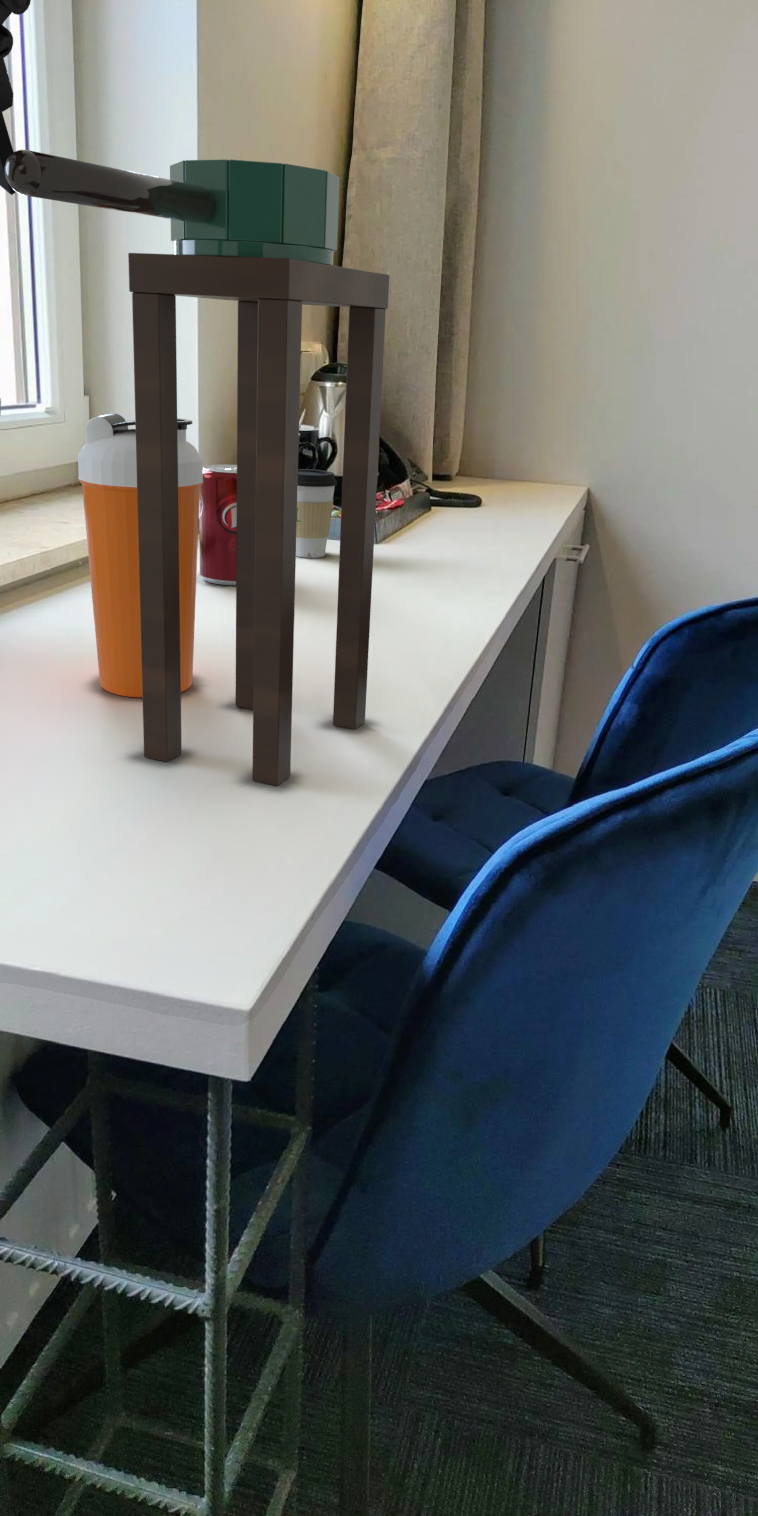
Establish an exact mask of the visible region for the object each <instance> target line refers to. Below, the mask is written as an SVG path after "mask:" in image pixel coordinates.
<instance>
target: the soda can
mask: <svg viewBox="0 0 758 1516" xmlns="http://www.w3.org/2000/svg"><path fill="white" fill-rule="evenodd" d="M236 531H237V464H224V463H223V464H207V465H203V484H202V485H201V486H200V496H199V522H198V544H199V545H198V547H199V575H200V576H201V577H202V579H203V580H204V581H205V582H207V583H211V584H214V585H221V586H232V587H233V586H235V587H236Z"/></svg>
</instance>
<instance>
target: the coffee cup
mask: <svg viewBox="0 0 758 1516" xmlns="http://www.w3.org/2000/svg"><path fill="white" fill-rule="evenodd" d="M335 477H336V476H335V473H334V472H332V471H329V470H323V469H322V470H321V469H309V468H308V469H306V468H305V469H303V468H298V487H297V527H296V558H297V557H298V558H305V559H315V558H316V559H317V558H322V557H325V555H326V551H327V550H326V549H327V541H328V537H329V533H330V527H331V522H332V521H331V520H332V513H333V508H334V507H333V506H334V501H335V500H334V493H335V486H337V485H338V481H337V480H336V478H335Z"/></svg>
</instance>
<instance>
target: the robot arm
mask: <svg viewBox="0 0 758 1516" xmlns="http://www.w3.org/2000/svg"><path fill="white" fill-rule="evenodd" d="M31 1H32V0H0V187H1V188H2V189H4V191H6V192H7V193H9V195H10V196H13V195H15V194H16V193H17V192H16V191H15V190H14V189H13V188H12V187H11V186H10V185H9V183H8V181H7V179H6V176H5V163H6V161H7V159H8V157H9V156H10V155H11V154H12V153H13V152H15V150H14V149H13V145H12V141H11V138H10V135H9V131H8V127H7V124H6V121H5V117H4V114H3V112H5V111H6V110H9V109H11V108H12V107H13V105H14V91H13V88H12V84H11V81H10V76H9V74H8V69H7V65H6V63H5V58H6V57H8V56H9V55H10V53H11V52H12V49H13V46H14V36H13V33H12V32H11V31H10V30H9V28H7V27H5V26H4V25H3V24H4V23H5V22H6V20H7V19H8V18H9V17H10V16H11V14H13V15H18V16H20V15H23V14H24V13H25V12H26V11H27V10H28V9H29V7H30V5H31ZM1 411H2V398H0V415H2V414H1Z"/></svg>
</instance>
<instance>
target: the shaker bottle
mask: <svg viewBox="0 0 758 1516" xmlns="http://www.w3.org/2000/svg"><path fill="white" fill-rule="evenodd" d="M190 425H193V420H191V419H187V418H178V417H177V437H178V514H179V591H180V668H181V693H183V692H185V691H186V690H188V689H190V688H191V686H192V684H193V673H194V648H195V647H194V645H195V620H196V596H197V572H198V571H197V570H198V547H199V545H198V544H199V496H200V486H201V485H202V484H203V467H204V464H203V463H204V462H203V461H204V460H203V458H202V455H200V453H199V452H198V450H197V448H196V447H195V446H194V445H193V444H192V443H190V442H189V441H187V429H188V426H190ZM129 426H135V419H131V420H126V418H124V417H123V416H122V415H121V414H119V413H116V412H115V413H114V412H110V413H107V414H103V415H97V416H93V417H92V418H90V419H89V420H88V421H87V422H86V424H85V426H84V439H85V440H84V441H85V443H84V445H83V446H82V448H81V450H80V451H79V452H78V453H77V468H78V470H77V471H78V473H77V474H78V478H77V480H78V481H79V483H81V486H82V487H81V489H82V499H83V510H84V520H85V522H84V523H85V533H86V543H87V544H86V545H87V554H88V555H87V557H88V566H89V575H90V576H89V577H90V589H91V598H92V611H93V622H94V623H93V624H94V632H95V644H96V655H97V666H98V678H99V679H98V680H99V685H100V687H101V688H102V689H103V690H104V691H106V692H108V693H110V694H113V695H117V696H122V697H128V698H129V697H130V698H142V699H143V695H142V657H141V619H140V580H139V542H138V504H137V466H136V428H129Z"/></svg>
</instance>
